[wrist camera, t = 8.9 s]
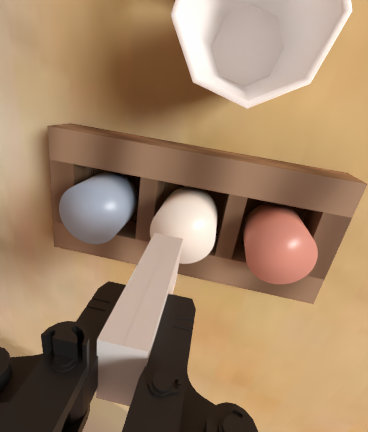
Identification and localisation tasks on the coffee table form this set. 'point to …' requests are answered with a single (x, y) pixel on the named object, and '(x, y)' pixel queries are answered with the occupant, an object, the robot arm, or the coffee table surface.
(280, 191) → the brown compartment tray
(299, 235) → the pink egg
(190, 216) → the cream rounded knob
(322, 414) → the coffee table surface
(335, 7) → the cup
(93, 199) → the blue egg
